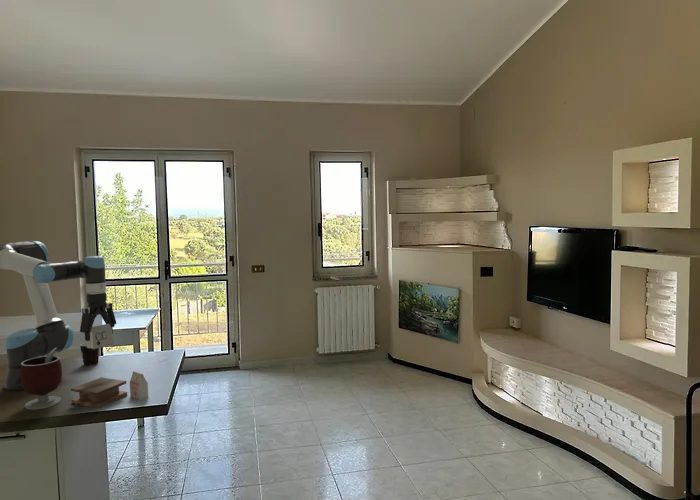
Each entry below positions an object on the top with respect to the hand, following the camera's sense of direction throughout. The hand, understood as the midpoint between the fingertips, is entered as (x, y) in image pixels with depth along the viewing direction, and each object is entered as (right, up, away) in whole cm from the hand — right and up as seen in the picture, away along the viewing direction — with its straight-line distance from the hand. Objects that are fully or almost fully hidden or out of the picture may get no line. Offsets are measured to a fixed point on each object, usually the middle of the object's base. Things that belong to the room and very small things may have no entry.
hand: (99, 344), depth 217 cm
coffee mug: (-21, -16, +33) cm, 42 cm away
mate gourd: (-13, -20, -17) cm, 29 cm away
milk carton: (+22, -19, -13) cm, 32 cm away
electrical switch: (0, -1, 0) cm, 1 cm away
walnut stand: (+7, -19, -15) cm, 25 cm away
